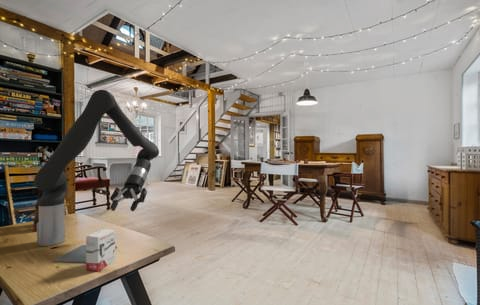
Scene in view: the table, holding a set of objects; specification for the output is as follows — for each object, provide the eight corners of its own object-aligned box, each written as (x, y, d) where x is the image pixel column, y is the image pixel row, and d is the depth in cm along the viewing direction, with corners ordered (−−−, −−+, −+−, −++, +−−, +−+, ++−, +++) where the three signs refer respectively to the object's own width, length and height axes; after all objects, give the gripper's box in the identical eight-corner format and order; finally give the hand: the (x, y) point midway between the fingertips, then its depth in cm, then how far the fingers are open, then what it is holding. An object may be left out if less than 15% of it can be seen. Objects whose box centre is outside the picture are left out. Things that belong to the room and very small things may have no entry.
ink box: (97, 271, 80) (97, 237, 80) (85, 270, 81) (85, 236, 81) (116, 260, 89) (115, 228, 89) (104, 259, 90) (104, 228, 90)
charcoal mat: (53, 261, 88) (53, 259, 88) (82, 246, 102) (82, 245, 102) (93, 263, 87) (93, 261, 87) (117, 247, 101) (117, 246, 101)
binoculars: (34, 224, 134) (34, 189, 134) (53, 221, 139) (52, 187, 139) (32, 233, 120) (31, 193, 120) (52, 229, 125) (52, 191, 125)
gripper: (118, 173, 107) (101, 204, 96) (148, 173, 105) (134, 205, 94) (125, 183, 112) (110, 214, 101) (154, 183, 111) (142, 215, 99)
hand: (122, 210), depth 98 cm, fingers open, 8 cm apart
